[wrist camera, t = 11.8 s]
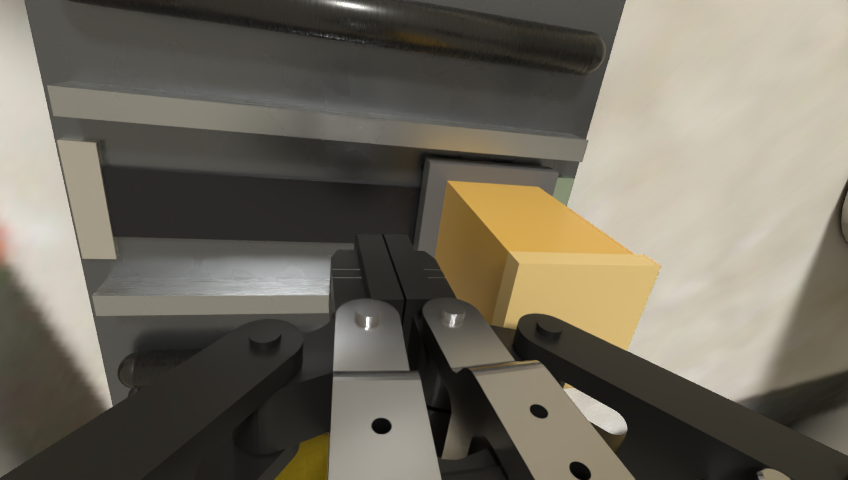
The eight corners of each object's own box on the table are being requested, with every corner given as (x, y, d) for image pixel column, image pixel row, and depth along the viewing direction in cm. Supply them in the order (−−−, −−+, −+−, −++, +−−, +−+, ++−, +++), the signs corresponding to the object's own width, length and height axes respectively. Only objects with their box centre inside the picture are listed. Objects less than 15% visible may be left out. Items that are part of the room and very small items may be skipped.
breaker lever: (549, 166, 17) (688, 248, 10) (521, 273, 19) (624, 397, 12) (425, 156, 15) (498, 242, 9) (409, 272, 17) (461, 409, 11)
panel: (605, -16, 16) (660, -25, 13) (504, 363, 23) (527, 404, 21) (27, -137, 11) (-56, -186, 9) (127, 380, 19) (97, 435, 16)
